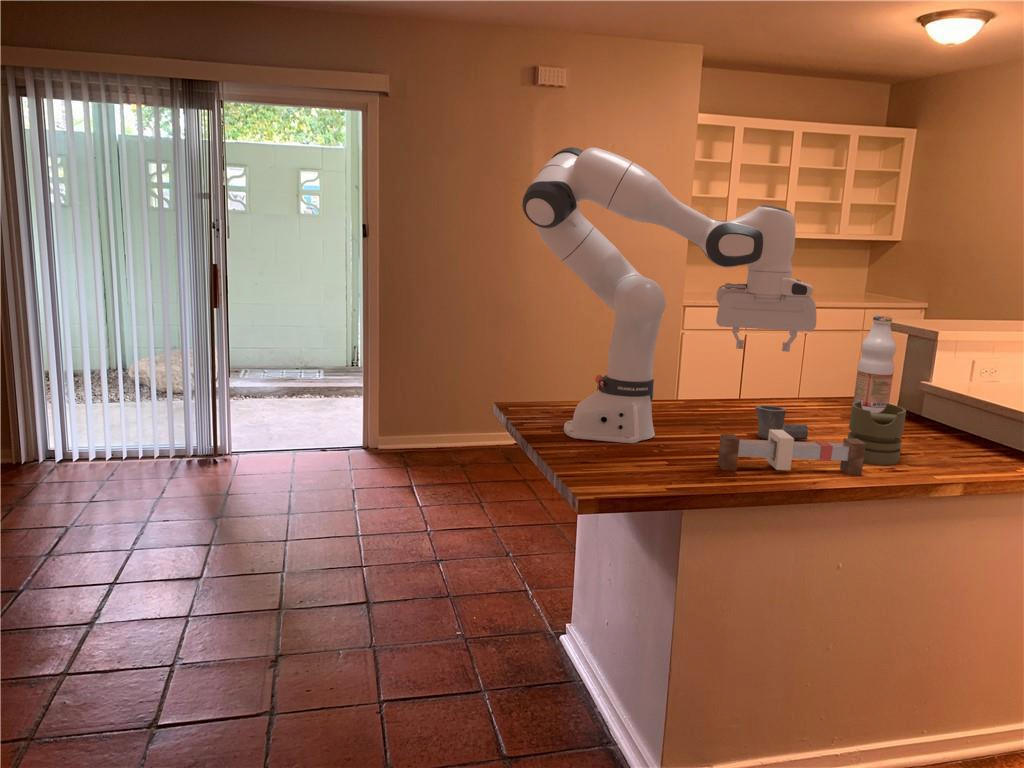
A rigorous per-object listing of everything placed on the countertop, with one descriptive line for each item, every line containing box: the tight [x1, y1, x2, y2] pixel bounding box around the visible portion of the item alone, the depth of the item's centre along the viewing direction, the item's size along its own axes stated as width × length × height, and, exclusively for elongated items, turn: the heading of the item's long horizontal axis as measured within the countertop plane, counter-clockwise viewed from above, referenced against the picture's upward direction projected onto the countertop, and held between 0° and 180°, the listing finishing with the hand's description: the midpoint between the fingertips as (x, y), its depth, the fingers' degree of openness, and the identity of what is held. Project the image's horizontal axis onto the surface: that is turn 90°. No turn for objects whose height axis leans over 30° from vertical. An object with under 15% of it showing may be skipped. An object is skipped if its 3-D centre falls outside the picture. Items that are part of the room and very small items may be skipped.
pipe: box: [754, 404, 809, 441], centre depth 192 cm, size 6×13×8 cm, turn 78°
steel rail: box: [738, 439, 850, 462], centre depth 168 cm, size 28×3×3 cm, turn 90°
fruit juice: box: [852, 315, 897, 413], centre depth 223 cm, size 9×9×28 cm
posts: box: [717, 433, 866, 476], centre depth 168 cm, size 30×4×7 cm, turn 90°
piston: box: [847, 402, 907, 466], centre depth 179 cm, size 11×12×11 cm
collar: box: [765, 429, 795, 471], centre depth 168 cm, size 3×7×7 cm, turn 0°
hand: (762, 349), depth 166 cm, fingers open, 8 cm apart
